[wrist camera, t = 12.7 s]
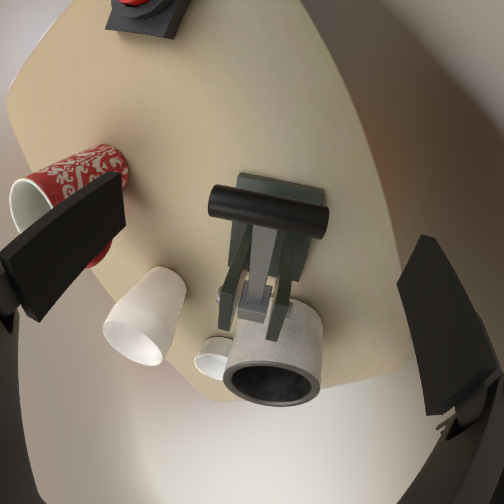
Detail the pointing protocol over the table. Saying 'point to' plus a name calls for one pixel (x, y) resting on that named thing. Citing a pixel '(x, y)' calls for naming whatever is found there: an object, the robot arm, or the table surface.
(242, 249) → the lever bracket
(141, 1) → the button
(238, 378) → the planter
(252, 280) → the switch lever
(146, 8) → the switch block
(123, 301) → the cup
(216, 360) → the ramekin
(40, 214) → the mug
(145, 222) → the table surface
